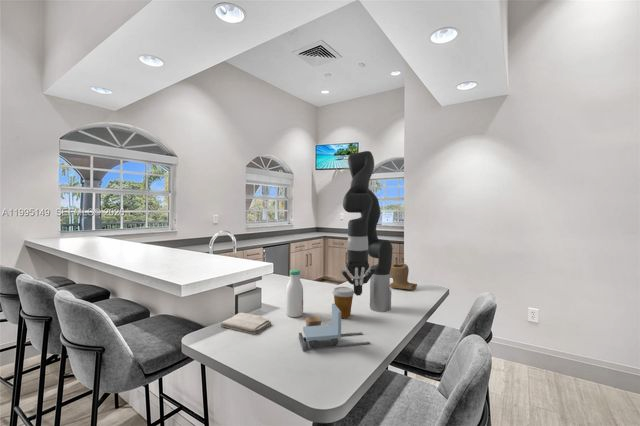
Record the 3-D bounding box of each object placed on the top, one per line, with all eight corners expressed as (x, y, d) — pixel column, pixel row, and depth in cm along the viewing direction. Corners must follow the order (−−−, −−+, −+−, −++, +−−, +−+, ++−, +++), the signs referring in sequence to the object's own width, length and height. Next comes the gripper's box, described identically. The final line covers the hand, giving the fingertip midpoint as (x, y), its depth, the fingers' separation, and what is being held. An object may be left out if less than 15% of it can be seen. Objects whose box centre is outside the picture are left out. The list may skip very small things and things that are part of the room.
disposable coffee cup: (356, 314, 136) (356, 288, 135) (349, 321, 127) (350, 293, 127) (337, 310, 140) (337, 285, 139) (329, 318, 131) (329, 290, 131)
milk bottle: (300, 318, 130) (300, 272, 130) (283, 316, 132) (283, 271, 131) (304, 312, 138) (305, 269, 137) (288, 310, 139) (289, 268, 139)
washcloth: (256, 336, 113) (256, 328, 113) (219, 328, 121) (219, 320, 120) (273, 324, 124) (273, 317, 124) (238, 317, 132) (238, 311, 131)
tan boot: (386, 289, 176) (387, 264, 175) (392, 284, 186) (392, 260, 186) (413, 293, 169) (413, 267, 168) (417, 288, 179) (417, 263, 179)
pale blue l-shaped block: (334, 333, 113) (334, 303, 113) (340, 344, 105) (341, 311, 104) (302, 336, 111) (303, 305, 110) (307, 347, 102) (307, 314, 102)
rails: (361, 332, 116) (361, 327, 116) (370, 344, 106) (371, 339, 106) (298, 338, 111) (298, 332, 111) (302, 351, 101) (302, 345, 101)
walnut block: (318, 328, 120) (318, 316, 120) (321, 333, 115) (321, 320, 115) (306, 329, 119) (306, 317, 119) (308, 334, 114) (308, 321, 114)
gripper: (370, 245, 114) (370, 290, 115) (337, 247, 111) (337, 293, 112) (378, 248, 107) (378, 296, 108) (343, 250, 104) (343, 299, 105)
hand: (357, 294), depth 110 cm, fingers closed
